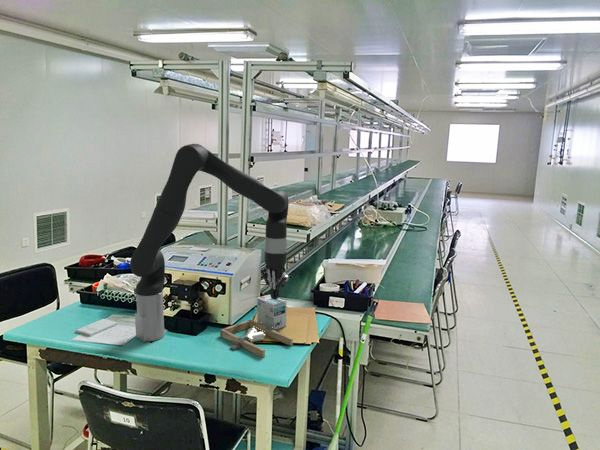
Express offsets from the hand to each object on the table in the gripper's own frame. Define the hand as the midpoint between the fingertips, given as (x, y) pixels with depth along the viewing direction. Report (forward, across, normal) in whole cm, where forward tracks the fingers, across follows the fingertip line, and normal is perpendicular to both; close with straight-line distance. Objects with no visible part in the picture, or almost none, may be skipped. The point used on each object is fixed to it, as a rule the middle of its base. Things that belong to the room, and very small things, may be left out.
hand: (274, 298), depth 161 cm
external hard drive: (+20, -60, -37) cm, 73 cm away
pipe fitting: (+19, -10, -1) cm, 22 cm away
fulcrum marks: (+19, -10, 0) cm, 21 cm away
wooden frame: (+19, -10, 0) cm, 21 cm away
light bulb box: (+19, -17, +14) cm, 29 cm away
